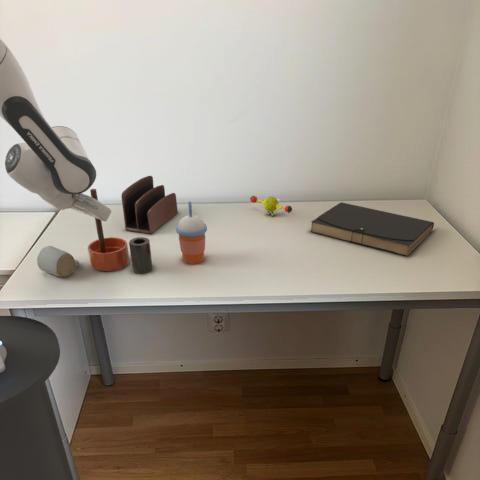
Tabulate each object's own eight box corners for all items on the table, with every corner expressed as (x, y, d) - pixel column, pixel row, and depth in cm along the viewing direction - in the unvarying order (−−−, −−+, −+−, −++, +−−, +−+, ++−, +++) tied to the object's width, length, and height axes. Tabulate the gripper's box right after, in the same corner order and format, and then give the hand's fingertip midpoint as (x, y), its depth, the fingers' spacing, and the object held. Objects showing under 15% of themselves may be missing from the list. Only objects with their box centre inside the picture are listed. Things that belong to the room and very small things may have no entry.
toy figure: (295, 218, 180) (296, 200, 176) (286, 223, 177) (287, 204, 173) (256, 207, 190) (256, 189, 186) (246, 211, 186) (246, 193, 183)
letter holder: (125, 230, 173) (119, 190, 165) (154, 210, 189) (150, 172, 181) (151, 234, 170) (146, 193, 162) (178, 213, 186) (175, 174, 178)
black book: (310, 220, 168) (343, 200, 185) (309, 232, 170) (341, 211, 187) (409, 244, 152) (435, 219, 168) (406, 257, 154) (432, 231, 171)
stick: (105, 263, 151) (93, 190, 139) (101, 263, 151) (88, 190, 139) (109, 261, 152) (97, 189, 140) (104, 260, 152) (92, 188, 140)
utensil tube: (145, 275, 146) (141, 246, 141) (129, 271, 148) (125, 243, 144) (156, 267, 151) (153, 239, 146) (140, 263, 153) (137, 235, 148)
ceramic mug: (60, 282, 144) (55, 257, 139) (39, 275, 147) (33, 251, 143) (87, 267, 151) (82, 243, 147) (66, 261, 155) (62, 237, 151)
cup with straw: (180, 267, 150) (175, 209, 140) (176, 254, 158) (172, 197, 148) (210, 264, 152) (208, 206, 142) (206, 251, 159) (203, 195, 149)
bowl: (113, 275, 147) (110, 256, 143) (83, 267, 151) (79, 249, 148) (137, 259, 155) (134, 241, 152) (107, 252, 159) (104, 234, 156)
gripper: (92, 189, 127) (128, 215, 139) (46, 173, 138) (83, 198, 150) (80, 211, 127) (117, 235, 138) (35, 194, 138) (73, 217, 149)
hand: (99, 216), depth 144 cm, fingers closed on stick, 2 cm apart
